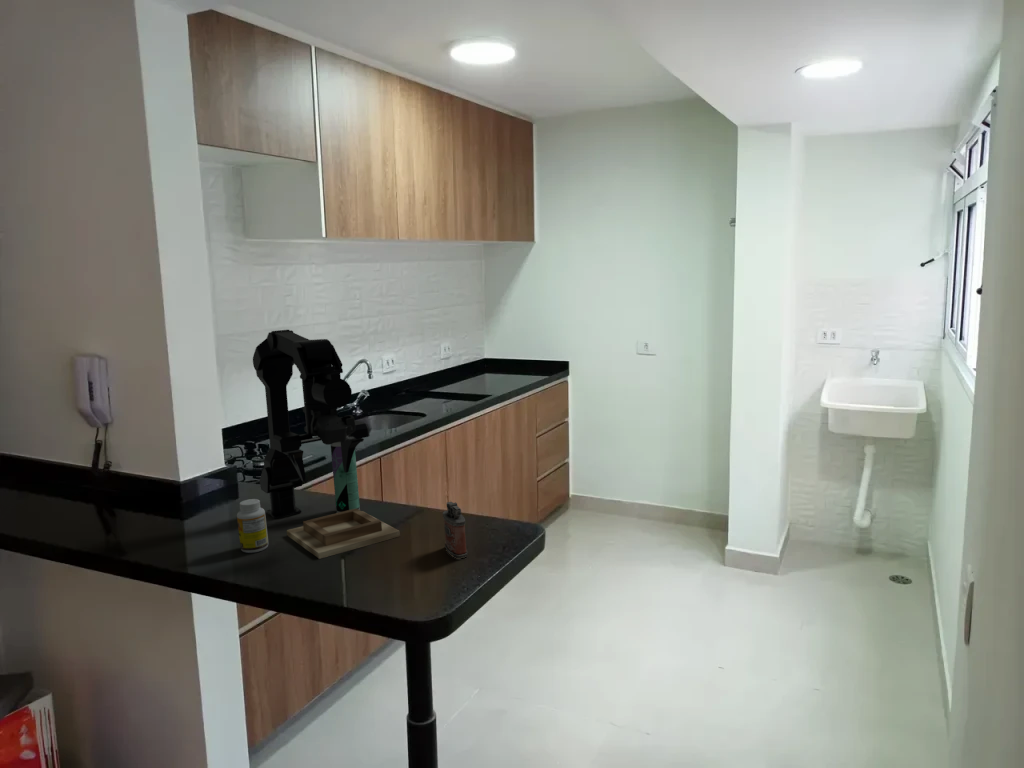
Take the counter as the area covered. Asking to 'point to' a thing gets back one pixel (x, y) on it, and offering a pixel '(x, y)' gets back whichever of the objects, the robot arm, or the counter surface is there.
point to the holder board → (341, 533)
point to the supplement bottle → (252, 526)
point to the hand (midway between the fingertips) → (325, 476)
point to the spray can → (344, 481)
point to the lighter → (454, 531)
